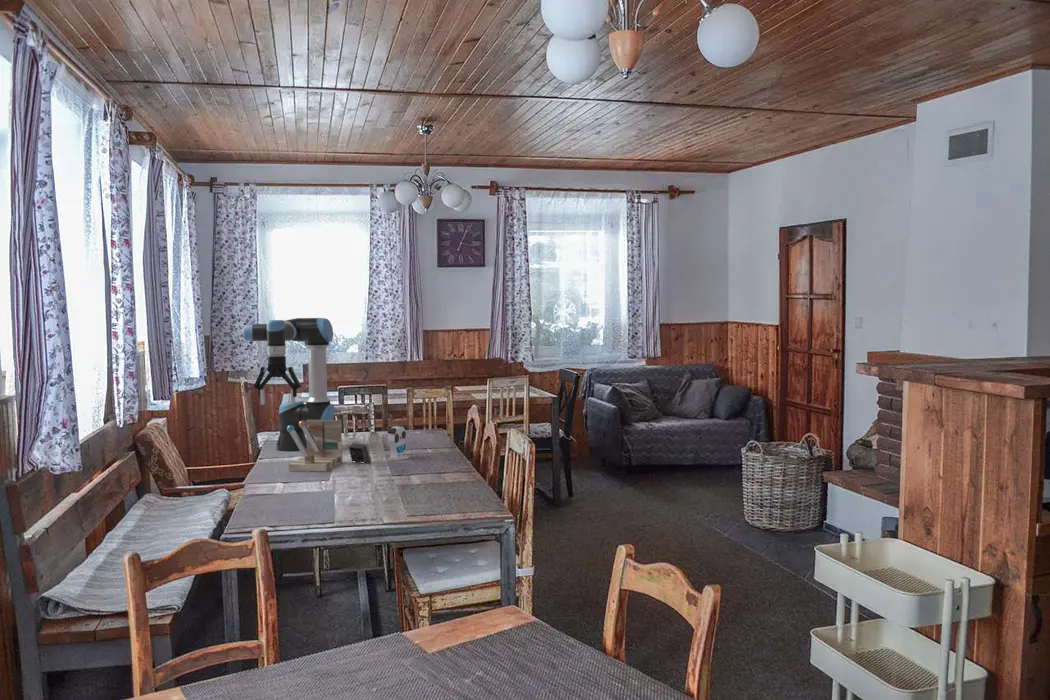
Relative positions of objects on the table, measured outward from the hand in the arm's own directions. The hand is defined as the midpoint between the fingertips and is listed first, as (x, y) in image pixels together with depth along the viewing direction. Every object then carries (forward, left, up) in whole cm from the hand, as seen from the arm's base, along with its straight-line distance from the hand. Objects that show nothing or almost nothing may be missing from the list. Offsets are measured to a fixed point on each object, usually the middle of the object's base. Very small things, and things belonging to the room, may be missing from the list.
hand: (277, 404), depth 358 cm
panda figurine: (-26, +46, -28) cm, 60 cm away
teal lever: (+2, +15, -24) cm, 29 cm away
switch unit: (-6, +15, -28) cm, 32 cm away
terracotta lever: (-12, +15, -24) cm, 31 cm away
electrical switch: (-15, +32, -28) cm, 45 cm away
